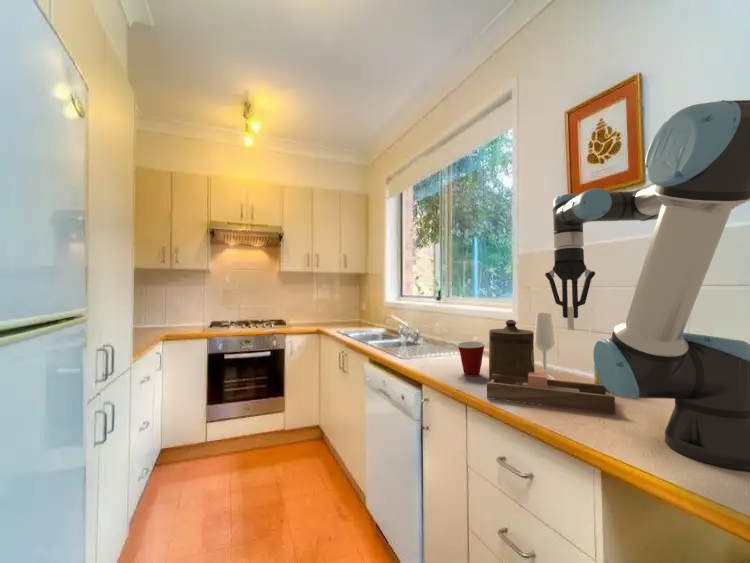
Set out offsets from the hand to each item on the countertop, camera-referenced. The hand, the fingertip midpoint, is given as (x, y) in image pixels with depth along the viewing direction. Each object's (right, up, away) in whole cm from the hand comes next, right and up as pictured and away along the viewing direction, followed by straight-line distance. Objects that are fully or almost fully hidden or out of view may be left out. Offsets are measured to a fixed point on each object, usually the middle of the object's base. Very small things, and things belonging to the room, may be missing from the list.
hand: (570, 329), depth 100 cm
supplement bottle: (+18, -21, +12) cm, 30 cm away
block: (-8, -18, +3) cm, 20 cm away
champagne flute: (+5, -22, +26) cm, 34 cm away
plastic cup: (-20, -22, +33) cm, 44 cm away
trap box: (-6, -21, +2) cm, 22 cm away
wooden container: (-9, -22, +21) cm, 32 cm away
